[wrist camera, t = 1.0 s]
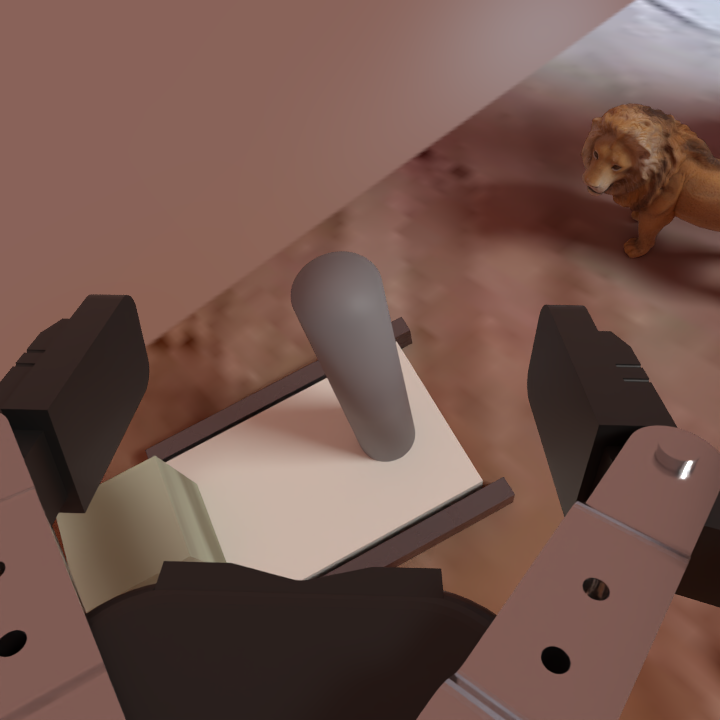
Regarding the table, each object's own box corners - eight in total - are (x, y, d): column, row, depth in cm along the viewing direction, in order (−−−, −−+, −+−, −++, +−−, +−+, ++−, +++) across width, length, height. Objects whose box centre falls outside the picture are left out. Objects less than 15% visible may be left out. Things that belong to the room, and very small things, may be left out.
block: (197, 483, 33) (155, 455, 29) (230, 572, 31) (190, 555, 26) (110, 530, 33) (53, 508, 28) (137, 622, 30) (80, 614, 26)
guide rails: (404, 330, 37) (401, 316, 36) (512, 502, 32) (514, 494, 30) (158, 458, 36) (145, 449, 34) (228, 659, 31) (217, 659, 29)
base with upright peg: (399, 353, 36) (356, 161, 22) (482, 488, 32) (492, 354, 18) (81, 520, 35) (-172, 423, 21) (125, 684, 31) (-154, 698, 17)
